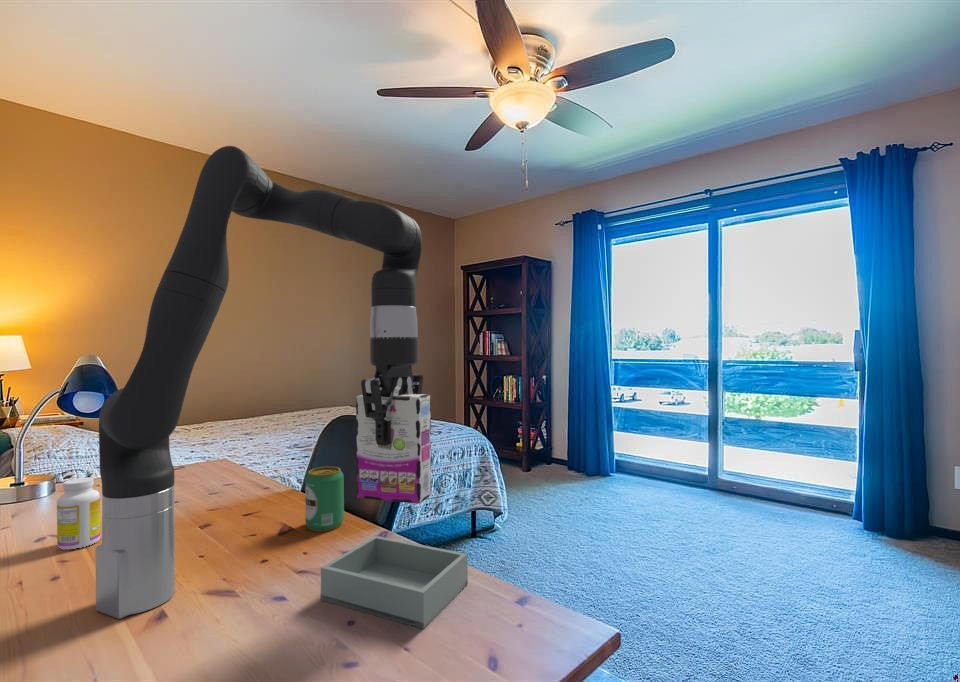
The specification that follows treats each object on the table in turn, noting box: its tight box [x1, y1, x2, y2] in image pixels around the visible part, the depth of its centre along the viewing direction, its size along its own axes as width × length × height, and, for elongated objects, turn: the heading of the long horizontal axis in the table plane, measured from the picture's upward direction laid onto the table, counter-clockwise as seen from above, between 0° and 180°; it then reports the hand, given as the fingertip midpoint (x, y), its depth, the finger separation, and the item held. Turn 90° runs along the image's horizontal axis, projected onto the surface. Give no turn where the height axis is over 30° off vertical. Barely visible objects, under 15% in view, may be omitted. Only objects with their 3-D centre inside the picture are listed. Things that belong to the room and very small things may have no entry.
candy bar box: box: [355, 393, 432, 505], centre depth 77 cm, size 11×5×16 cm, turn 73°
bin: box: [320, 535, 469, 630], centre depth 77 cm, size 14×19×5 cm
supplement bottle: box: [56, 477, 101, 549], centre depth 97 cm, size 7×7×13 cm
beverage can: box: [304, 466, 345, 533], centre depth 106 cm, size 8×8×12 cm
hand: (394, 440), depth 77 cm, fingers closed on candy bar box, 5 cm apart
